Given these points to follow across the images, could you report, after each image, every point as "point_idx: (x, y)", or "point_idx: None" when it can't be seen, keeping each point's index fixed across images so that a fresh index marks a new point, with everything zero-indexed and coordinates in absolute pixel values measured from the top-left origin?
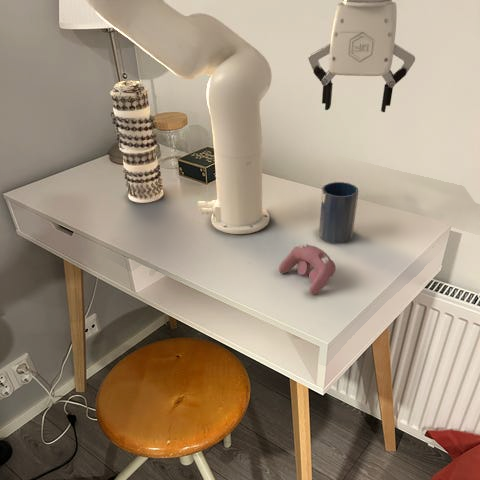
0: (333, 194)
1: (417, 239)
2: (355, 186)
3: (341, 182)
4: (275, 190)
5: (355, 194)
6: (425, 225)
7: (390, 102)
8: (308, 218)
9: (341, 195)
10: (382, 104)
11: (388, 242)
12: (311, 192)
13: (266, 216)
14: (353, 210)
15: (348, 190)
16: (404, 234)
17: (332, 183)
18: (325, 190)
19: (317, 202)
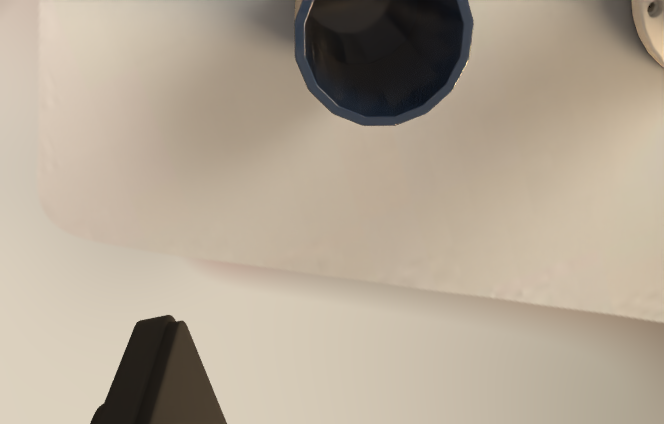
0: (416, 84)
1: (83, 97)
2: (323, 102)
3: (397, 119)
4: (646, 244)
5: (297, 13)
6: (97, 201)
7: (94, 421)
8: (487, 93)
9: (382, 99)
10: (163, 365)
11: (165, 33)
12: (519, 275)
13: (650, 16)
14: (297, 2)
15: (355, 103)
16: (136, 114)
17: (436, 92)
18: (455, 44)
19: (483, 217)
